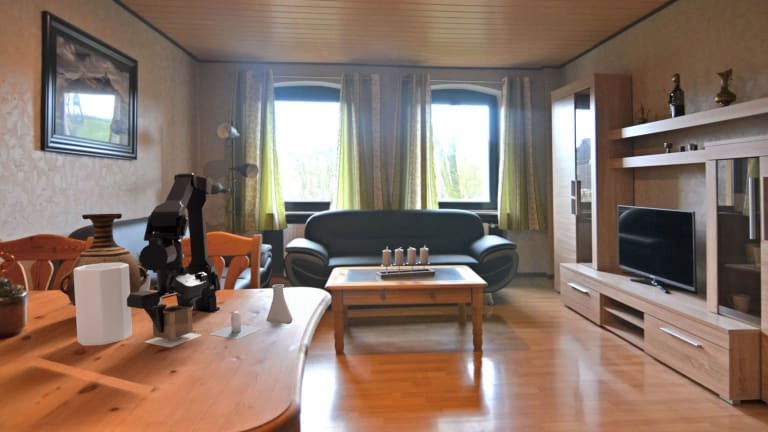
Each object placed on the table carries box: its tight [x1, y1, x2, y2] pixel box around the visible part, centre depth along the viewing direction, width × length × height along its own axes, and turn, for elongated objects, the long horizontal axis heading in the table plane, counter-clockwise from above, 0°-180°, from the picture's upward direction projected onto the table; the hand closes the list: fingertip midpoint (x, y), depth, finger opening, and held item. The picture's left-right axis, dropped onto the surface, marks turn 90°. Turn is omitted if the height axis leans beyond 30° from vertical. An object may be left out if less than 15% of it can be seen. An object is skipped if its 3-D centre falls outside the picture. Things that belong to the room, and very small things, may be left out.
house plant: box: [134, 249, 152, 292], centre depth 161 cm, size 14×14×16 cm
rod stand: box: [144, 332, 203, 348], centre depth 107 cm, size 9×9×4 cm
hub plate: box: [208, 311, 264, 340], centre depth 111 cm, size 9×9×6 cm
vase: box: [58, 212, 148, 307], centre depth 132 cm, size 21×18×30 cm
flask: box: [265, 283, 293, 324], centre depth 123 cm, size 7×7×10 cm
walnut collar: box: [152, 304, 194, 340], centre depth 107 cm, size 6×6×6 cm
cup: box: [74, 263, 133, 346], centre depth 108 cm, size 11×11×18 cm
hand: (173, 328), depth 107 cm, fingers closed on walnut collar, 6 cm apart
